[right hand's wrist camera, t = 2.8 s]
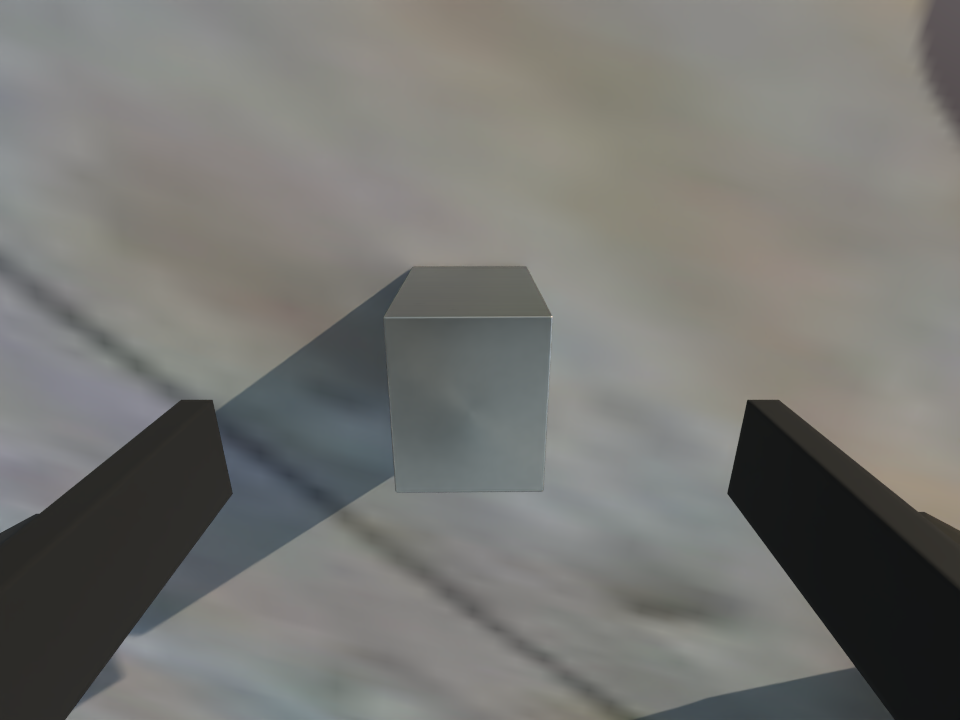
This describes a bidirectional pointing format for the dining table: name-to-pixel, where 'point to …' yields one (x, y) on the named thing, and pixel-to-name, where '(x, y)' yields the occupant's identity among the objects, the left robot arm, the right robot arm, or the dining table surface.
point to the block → (468, 380)
